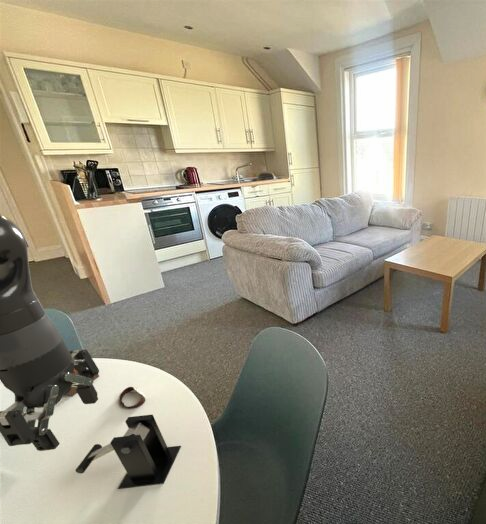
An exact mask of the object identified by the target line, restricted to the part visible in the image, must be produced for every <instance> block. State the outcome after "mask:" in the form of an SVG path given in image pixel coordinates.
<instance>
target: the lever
mask: <svg viewBox="0 0 486 524" xmlns="http://www.w3.org/2000/svg"><path fill="white" fill-rule="evenodd" d="M149 431H150V429H148V428H147V427H146V426H144V425H143V424H142V423H139V424H137V425H135V426H133V427H131V428H127V430H126V432H125V433H124V435H123V436H132V435H140V436H141V438H142V440H143V441H144V439H145V437H146V436H147V434H148V432H149ZM113 451H115V450H114V449H113V447H112V445H111V443H108V444H106V445H104V446H103V445H101V444H100V443H99V444H98V443H95V444H94V445H93V446H92V447H91V449H90V450H89V451H88V453H87V454H86V455H85V457H84V458H83V459H82V460H81V461H80V463H79V465H78V466H77V467H76V468H75V473H77V474H85V472H86V471H87V469H88V468H89V466H90V465H91V464H92V463H93V461H95V460H97V459H99V458H102V457H103V456H106V455H107V454H109V453H111V452H113Z"/></svg>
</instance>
